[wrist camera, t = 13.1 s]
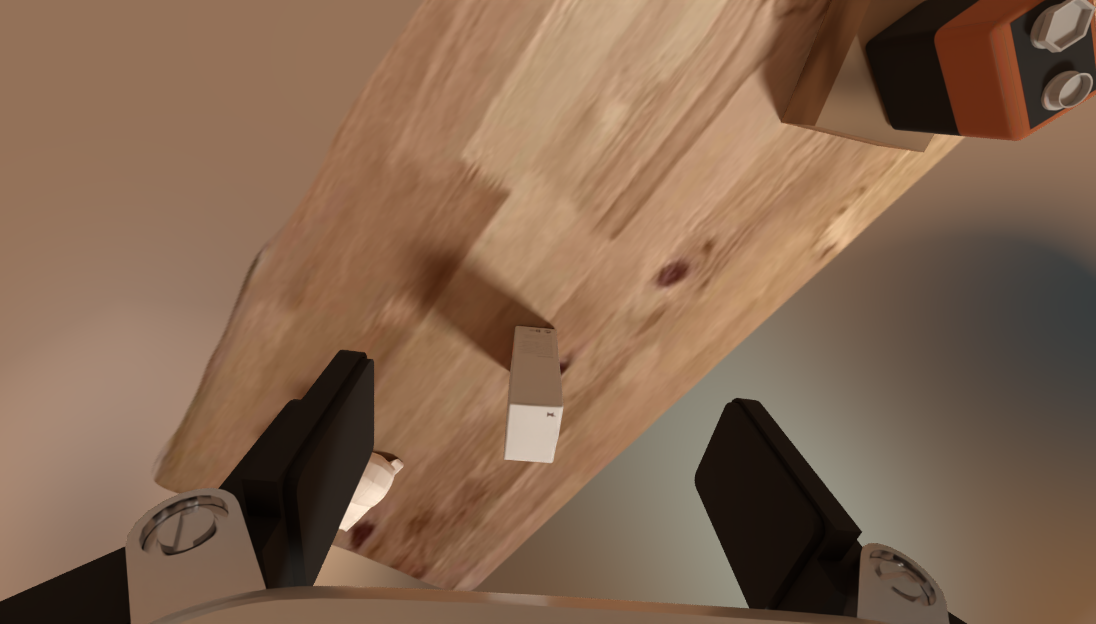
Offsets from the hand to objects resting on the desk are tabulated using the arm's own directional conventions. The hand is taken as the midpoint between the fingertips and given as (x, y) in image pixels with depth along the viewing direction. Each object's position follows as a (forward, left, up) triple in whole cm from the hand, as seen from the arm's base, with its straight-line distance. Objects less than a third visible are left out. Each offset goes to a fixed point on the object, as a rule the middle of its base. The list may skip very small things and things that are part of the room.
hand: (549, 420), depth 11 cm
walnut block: (-14, +23, -29) cm, 39 cm away
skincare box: (+16, +3, -29) cm, 33 cm away
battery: (-14, +23, -24) cm, 36 cm away
